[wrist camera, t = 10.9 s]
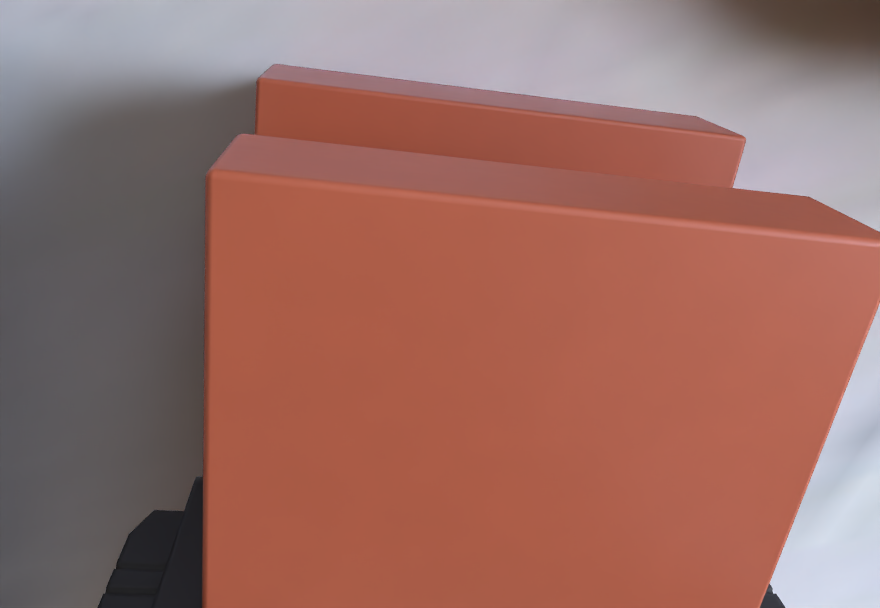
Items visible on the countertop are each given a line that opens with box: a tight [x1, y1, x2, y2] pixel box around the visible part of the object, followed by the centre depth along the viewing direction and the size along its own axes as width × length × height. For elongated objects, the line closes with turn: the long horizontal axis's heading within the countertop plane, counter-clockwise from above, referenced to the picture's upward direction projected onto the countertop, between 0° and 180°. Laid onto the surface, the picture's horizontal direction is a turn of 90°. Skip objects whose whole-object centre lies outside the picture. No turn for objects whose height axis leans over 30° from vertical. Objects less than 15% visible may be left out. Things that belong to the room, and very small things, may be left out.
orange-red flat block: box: [254, 64, 746, 188], centre depth 13 cm, size 13×6×3 cm, turn 173°
